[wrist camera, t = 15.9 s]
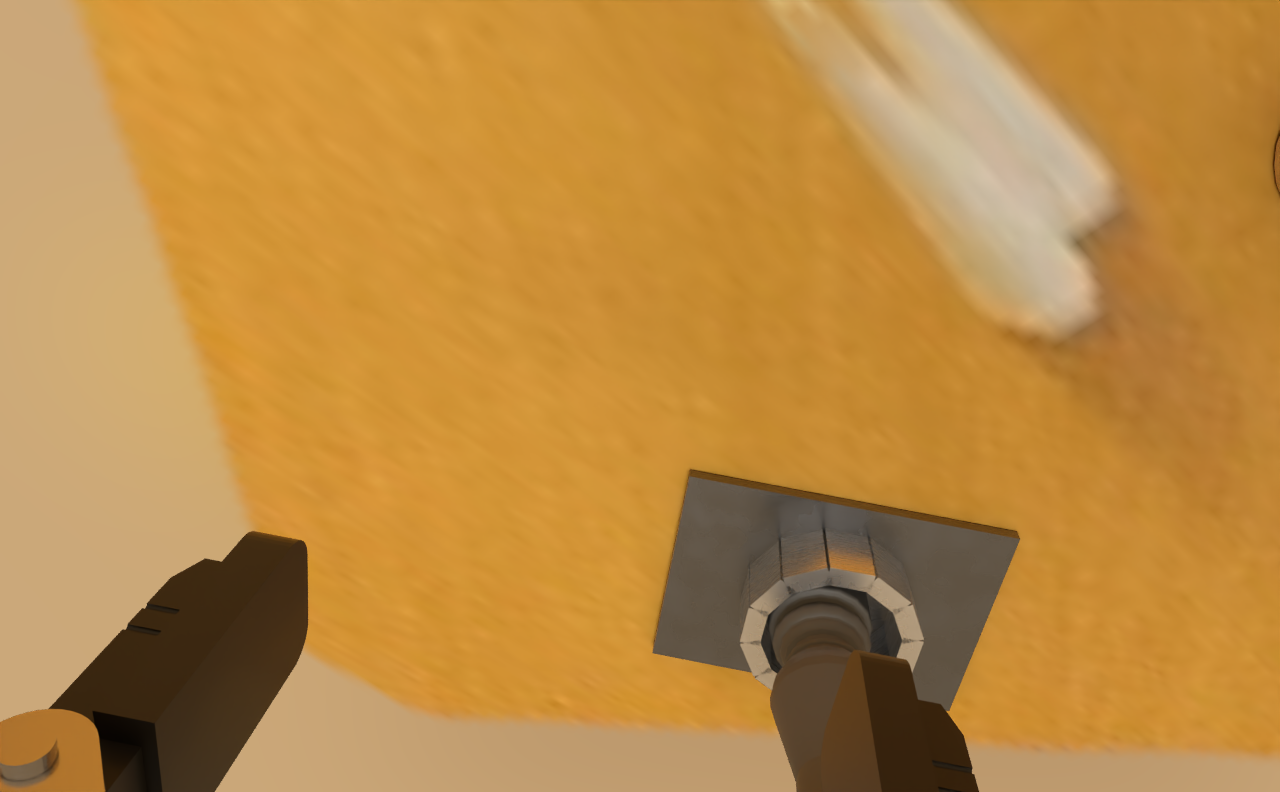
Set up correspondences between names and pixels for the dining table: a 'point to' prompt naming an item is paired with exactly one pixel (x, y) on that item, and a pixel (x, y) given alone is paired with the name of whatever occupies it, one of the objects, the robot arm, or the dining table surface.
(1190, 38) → the dining table surface
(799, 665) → the candle holder
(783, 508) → the steel collar
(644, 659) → the dining table surface
